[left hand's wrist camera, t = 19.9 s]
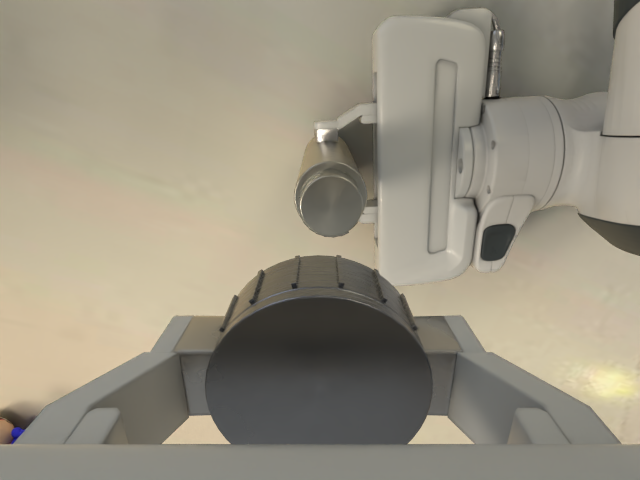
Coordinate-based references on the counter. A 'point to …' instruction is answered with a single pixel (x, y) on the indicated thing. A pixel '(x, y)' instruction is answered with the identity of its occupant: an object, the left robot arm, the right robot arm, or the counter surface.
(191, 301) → the counter surface
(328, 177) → the beige cylinder
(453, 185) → the right robot arm
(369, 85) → the counter surface
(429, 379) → the lid
